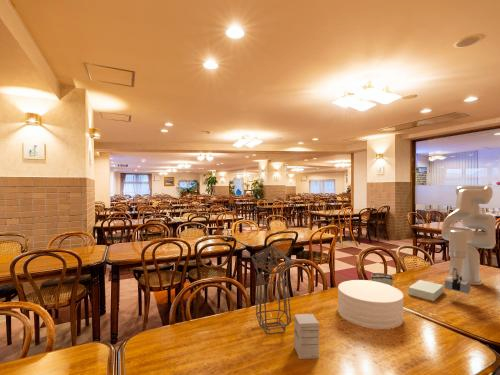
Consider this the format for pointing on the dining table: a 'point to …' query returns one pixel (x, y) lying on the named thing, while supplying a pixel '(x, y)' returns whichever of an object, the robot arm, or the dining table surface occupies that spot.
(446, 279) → the cover
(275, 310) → the geometric lantern
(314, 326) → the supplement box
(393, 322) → the plate stack
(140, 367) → the dining table surface
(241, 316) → the dining table surface
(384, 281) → the food container
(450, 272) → the robot arm
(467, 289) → the housing base
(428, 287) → the stand
